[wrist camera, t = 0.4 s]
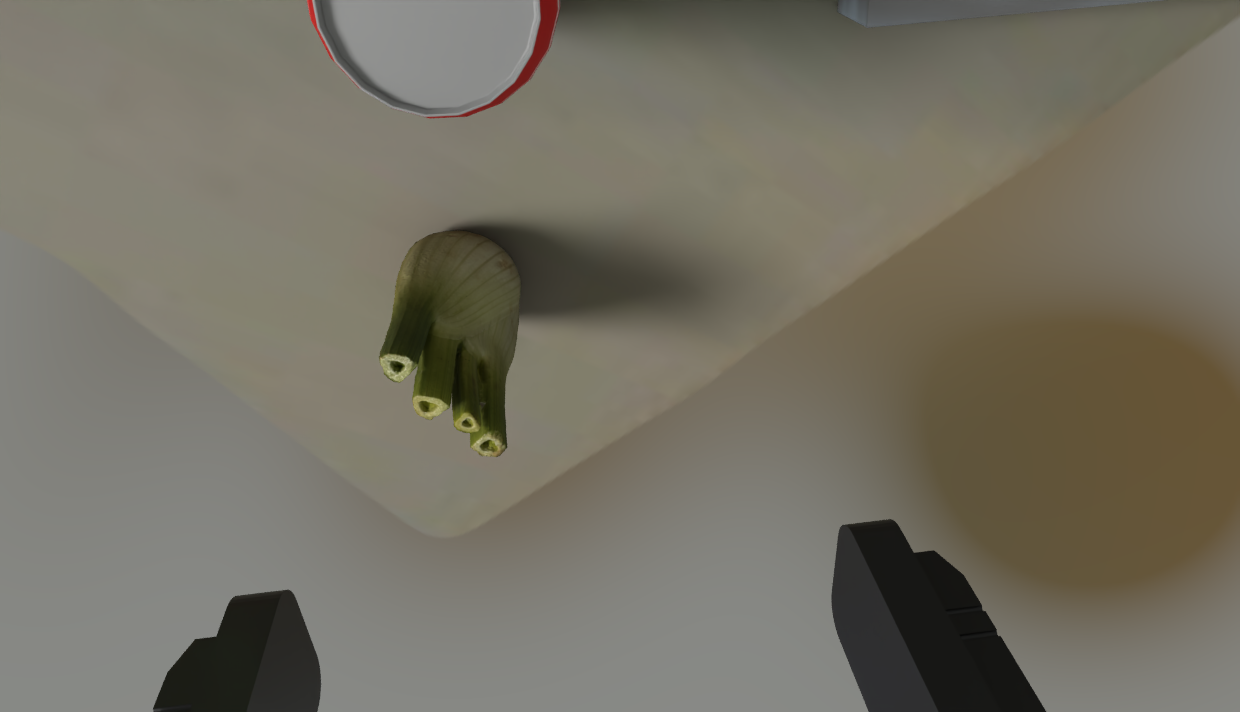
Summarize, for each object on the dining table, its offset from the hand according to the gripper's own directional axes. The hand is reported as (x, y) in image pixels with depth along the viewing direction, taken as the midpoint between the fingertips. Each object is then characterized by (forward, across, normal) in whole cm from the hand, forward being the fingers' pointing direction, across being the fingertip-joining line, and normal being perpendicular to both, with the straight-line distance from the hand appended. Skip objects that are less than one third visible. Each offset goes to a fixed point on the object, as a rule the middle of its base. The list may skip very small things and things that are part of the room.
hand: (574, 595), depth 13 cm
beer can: (+28, +2, -6) cm, 29 cm away
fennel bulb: (+28, +4, +8) cm, 29 cm away
